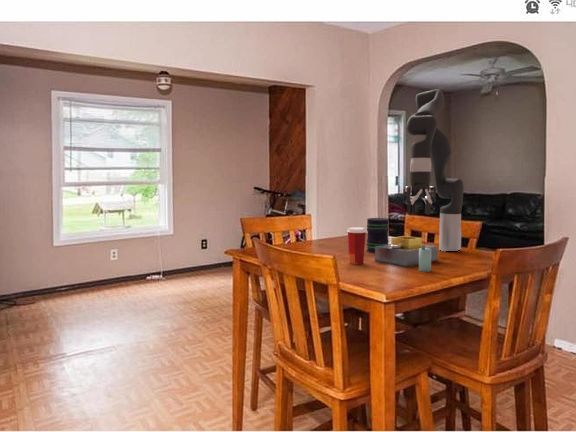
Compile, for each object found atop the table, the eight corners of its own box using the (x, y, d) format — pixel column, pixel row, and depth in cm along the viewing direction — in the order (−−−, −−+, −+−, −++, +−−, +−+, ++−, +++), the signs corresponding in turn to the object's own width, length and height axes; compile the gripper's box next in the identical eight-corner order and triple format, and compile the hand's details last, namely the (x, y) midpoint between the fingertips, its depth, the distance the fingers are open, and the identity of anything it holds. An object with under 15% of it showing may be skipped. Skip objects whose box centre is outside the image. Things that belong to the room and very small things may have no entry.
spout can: (423, 268, 176) (423, 243, 175) (433, 270, 172) (434, 244, 171) (416, 270, 173) (416, 244, 172) (426, 272, 169) (426, 246, 169)
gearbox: (405, 255, 204) (405, 233, 203) (437, 260, 191) (438, 237, 190) (374, 260, 191) (375, 238, 190) (406, 267, 179) (407, 242, 178)
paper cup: (367, 261, 190) (367, 227, 188) (364, 265, 182) (364, 229, 181) (348, 260, 192) (348, 226, 191) (344, 264, 185) (344, 229, 184)
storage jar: (392, 251, 213) (393, 219, 212) (377, 253, 208) (377, 220, 206) (377, 248, 222) (377, 217, 220) (362, 250, 216) (362, 218, 215)
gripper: (426, 171, 178) (425, 213, 180) (398, 170, 171) (397, 214, 173) (442, 170, 172) (440, 214, 173) (413, 170, 165) (412, 216, 166)
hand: (419, 214), depth 173 cm, fingers open, 8 cm apart
